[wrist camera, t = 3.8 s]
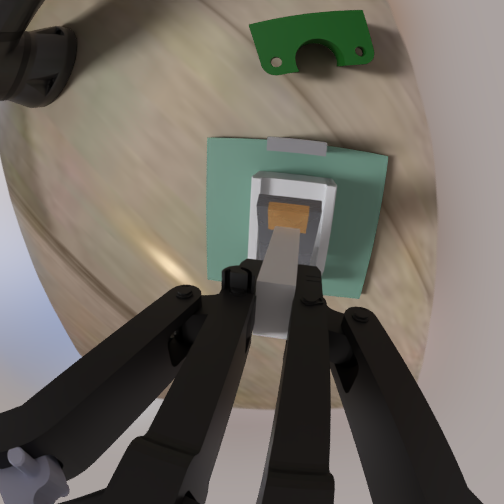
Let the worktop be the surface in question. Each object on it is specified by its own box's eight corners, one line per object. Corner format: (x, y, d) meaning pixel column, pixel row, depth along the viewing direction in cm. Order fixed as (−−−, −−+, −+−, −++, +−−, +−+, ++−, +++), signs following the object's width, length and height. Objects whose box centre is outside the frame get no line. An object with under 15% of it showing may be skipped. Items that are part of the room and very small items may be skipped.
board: (211, 134, 29) (184, 135, 22) (385, 152, 26) (409, 157, 20) (210, 275, 37) (190, 306, 30) (357, 293, 34) (367, 330, 27)
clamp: (285, 73, 29) (249, 81, 23) (273, 32, 25) (233, 30, 20) (380, 63, 22) (372, 63, 16) (368, 17, 19) (354, 1, 13)
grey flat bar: (258, 188, 17) (254, 207, 16) (323, 195, 16) (322, 215, 15) (264, 280, 28) (261, 294, 28) (302, 285, 28) (301, 300, 27)
